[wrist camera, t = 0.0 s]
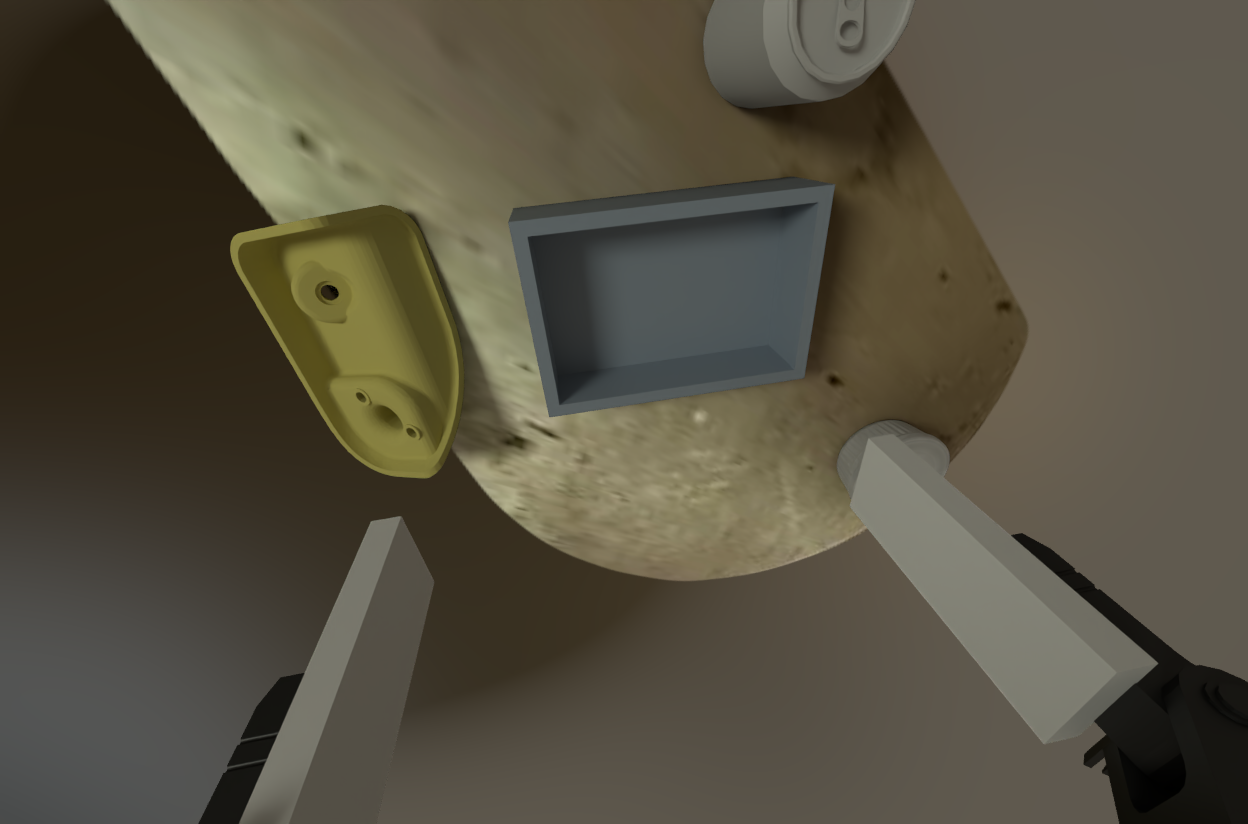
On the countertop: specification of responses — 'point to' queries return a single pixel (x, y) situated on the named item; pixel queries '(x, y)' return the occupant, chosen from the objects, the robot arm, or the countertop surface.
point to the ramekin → (914, 438)
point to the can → (798, 47)
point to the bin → (672, 290)
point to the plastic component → (363, 331)
